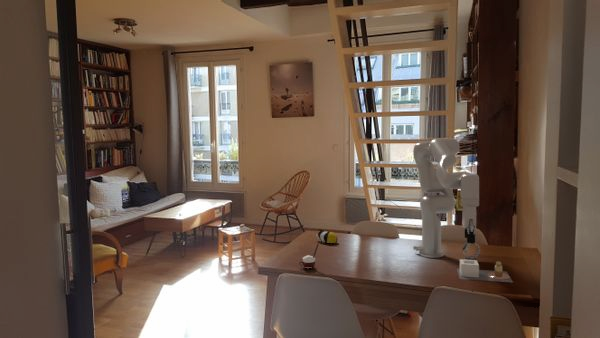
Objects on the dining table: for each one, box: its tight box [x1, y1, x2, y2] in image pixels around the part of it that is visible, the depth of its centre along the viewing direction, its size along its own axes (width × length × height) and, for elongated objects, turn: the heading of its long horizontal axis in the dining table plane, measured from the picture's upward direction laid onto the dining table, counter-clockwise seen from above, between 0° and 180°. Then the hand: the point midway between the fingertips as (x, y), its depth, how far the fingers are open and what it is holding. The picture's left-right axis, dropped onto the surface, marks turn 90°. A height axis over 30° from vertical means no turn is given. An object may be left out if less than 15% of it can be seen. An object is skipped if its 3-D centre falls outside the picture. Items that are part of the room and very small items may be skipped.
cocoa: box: [299, 242, 319, 268], centre depth 206 cm, size 10×6×12 cm, turn 69°
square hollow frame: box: [459, 258, 480, 277], centre depth 187 cm, size 7×7×6 cm
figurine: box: [315, 228, 339, 244], centre depth 254 cm, size 8×15×8 cm, turn 46°
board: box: [456, 268, 514, 283], centre depth 186 cm, size 21×14×6 cm, turn 74°
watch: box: [461, 241, 481, 261], centre depth 205 cm, size 6×8×11 cm
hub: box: [487, 261, 511, 280], centre depth 184 cm, size 9×9×6 cm
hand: (469, 240), depth 186 cm, fingers open, 9 cm apart
